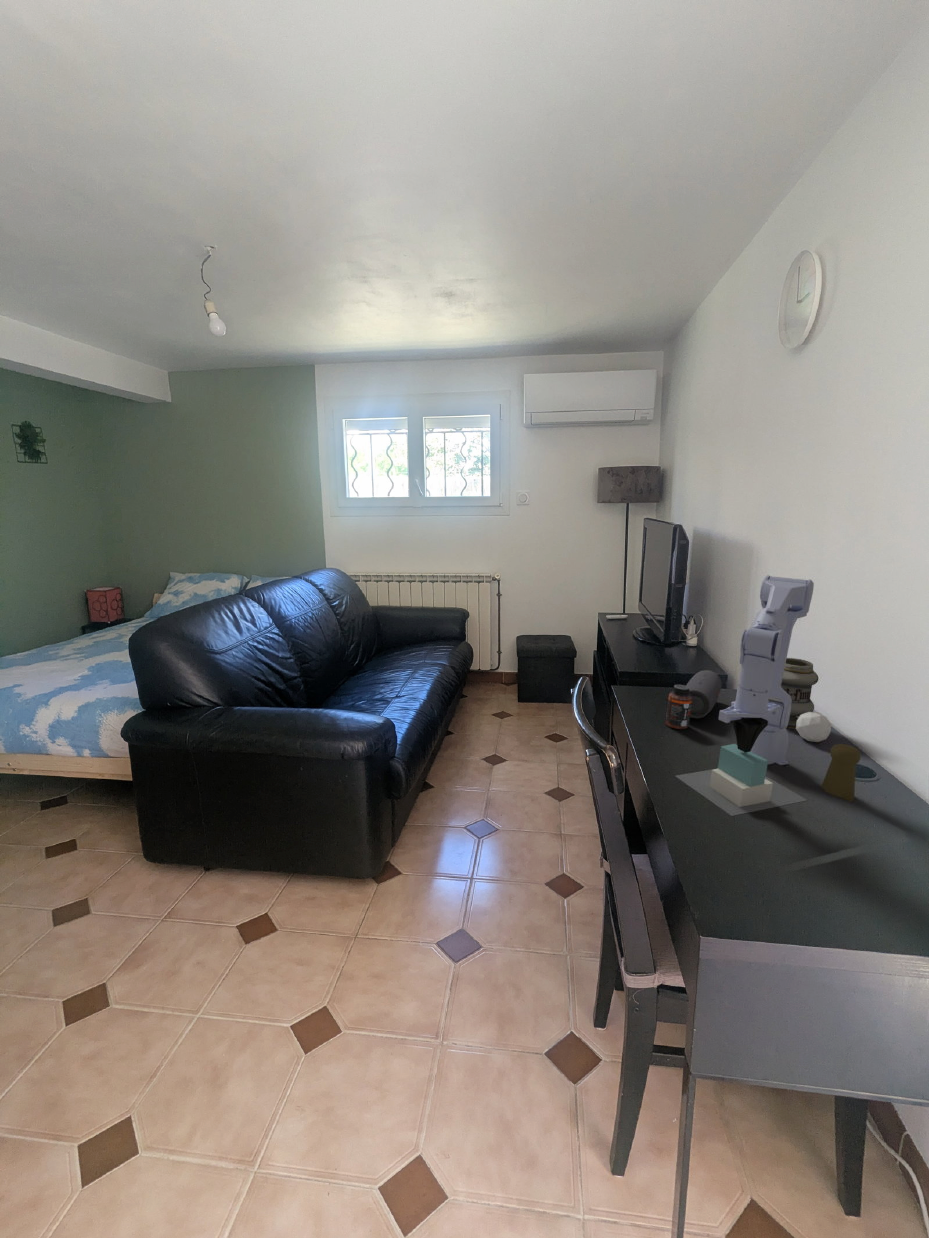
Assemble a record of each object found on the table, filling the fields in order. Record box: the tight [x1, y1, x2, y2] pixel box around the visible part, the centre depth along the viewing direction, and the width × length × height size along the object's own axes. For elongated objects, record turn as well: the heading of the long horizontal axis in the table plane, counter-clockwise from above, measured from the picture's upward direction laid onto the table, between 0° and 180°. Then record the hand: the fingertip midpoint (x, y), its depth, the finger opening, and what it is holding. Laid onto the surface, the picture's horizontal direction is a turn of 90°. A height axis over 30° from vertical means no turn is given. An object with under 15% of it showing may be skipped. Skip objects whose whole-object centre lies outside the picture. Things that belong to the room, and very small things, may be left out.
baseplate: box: [675, 768, 808, 817], centre depth 115 cm, size 20×16×1 cm
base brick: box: [710, 768, 773, 807], centre depth 112 cm, size 8×8×4 cm
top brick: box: [717, 743, 769, 787], centre depth 111 cm, size 4×8×5 cm, turn 23°
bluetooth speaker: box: [685, 669, 722, 719], centre depth 159 cm, size 23×9×10 cm, turn 148°
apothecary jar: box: [769, 657, 819, 730], centre depth 151 cm, size 12×12×18 cm
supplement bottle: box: [665, 684, 692, 730], centre depth 147 cm, size 6×6×11 cm
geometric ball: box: [795, 711, 832, 743], centre depth 141 cm, size 8×8×8 cm
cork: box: [821, 743, 861, 803], centre depth 114 cm, size 6×6×11 cm
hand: (743, 750), depth 110 cm, fingers closed
